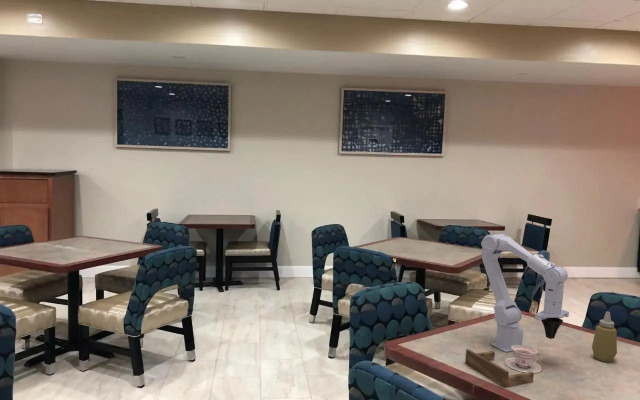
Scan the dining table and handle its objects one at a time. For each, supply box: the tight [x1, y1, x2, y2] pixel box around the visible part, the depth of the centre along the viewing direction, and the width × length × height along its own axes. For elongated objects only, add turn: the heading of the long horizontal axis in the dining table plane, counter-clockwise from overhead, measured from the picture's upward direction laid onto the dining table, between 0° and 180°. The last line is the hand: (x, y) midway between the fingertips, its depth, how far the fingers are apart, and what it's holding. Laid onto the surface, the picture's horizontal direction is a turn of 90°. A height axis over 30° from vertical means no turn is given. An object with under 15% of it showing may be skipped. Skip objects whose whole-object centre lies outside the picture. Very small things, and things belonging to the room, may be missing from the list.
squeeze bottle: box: [591, 311, 618, 363], centre depth 172 cm, size 8×8×18 cm
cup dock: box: [464, 348, 535, 388], centre depth 158 cm, size 12×18×5 cm, turn 23°
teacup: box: [504, 344, 543, 374], centre depth 164 cm, size 12×12×6 cm
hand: (550, 337), depth 166 cm, fingers closed
